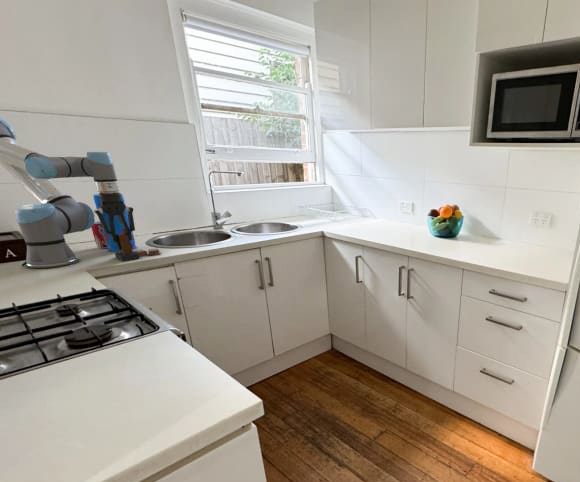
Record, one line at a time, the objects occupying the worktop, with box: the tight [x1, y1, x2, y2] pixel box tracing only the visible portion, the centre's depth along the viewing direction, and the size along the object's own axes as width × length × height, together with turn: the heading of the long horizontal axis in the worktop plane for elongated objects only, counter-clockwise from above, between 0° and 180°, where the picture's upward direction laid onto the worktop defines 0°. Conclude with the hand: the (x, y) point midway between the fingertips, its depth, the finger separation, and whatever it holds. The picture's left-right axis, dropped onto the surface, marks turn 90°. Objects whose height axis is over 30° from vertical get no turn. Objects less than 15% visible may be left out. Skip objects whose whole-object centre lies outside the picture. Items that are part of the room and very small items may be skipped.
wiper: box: [114, 233, 140, 262], centre depth 165 cm, size 6×10×10 cm, turn 51°
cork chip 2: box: [147, 248, 161, 256], centre depth 173 cm, size 4×4×2 cm
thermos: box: [92, 193, 137, 253], centre depth 176 cm, size 11×11×25 cm
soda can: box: [90, 220, 109, 250], centre depth 181 cm, size 7×7×12 cm
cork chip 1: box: [132, 249, 148, 258], centre depth 171 cm, size 4×4×2 cm
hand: (125, 248), depth 165 cm, fingers closed on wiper, 3 cm apart
